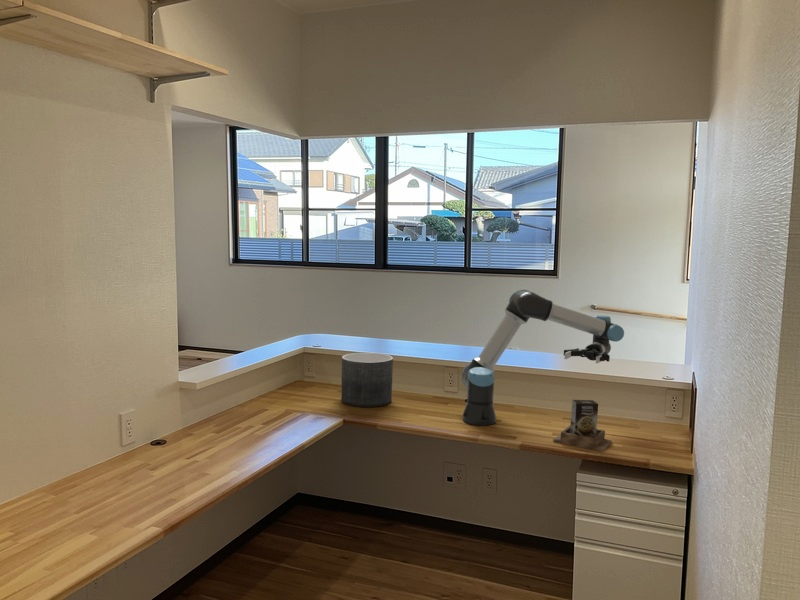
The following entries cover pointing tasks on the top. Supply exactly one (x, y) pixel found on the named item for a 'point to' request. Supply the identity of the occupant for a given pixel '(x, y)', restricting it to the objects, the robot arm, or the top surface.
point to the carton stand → (584, 440)
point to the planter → (367, 379)
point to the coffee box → (584, 418)
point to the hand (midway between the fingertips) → (580, 358)
